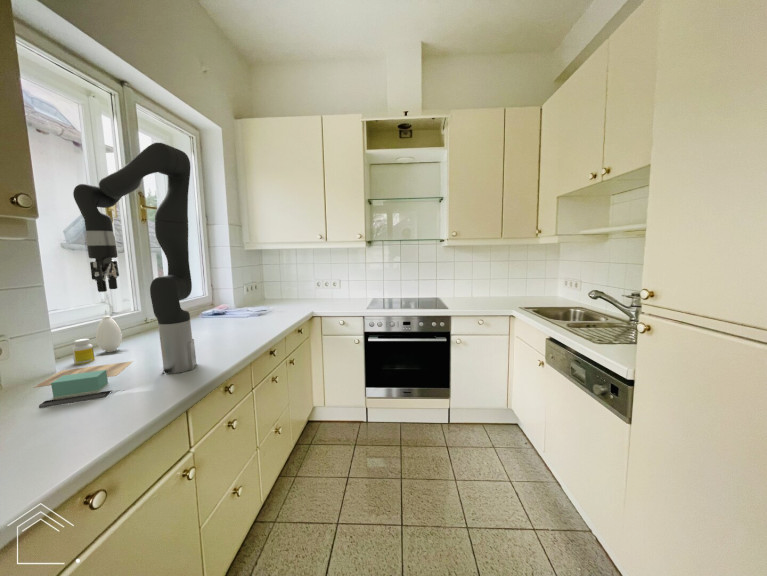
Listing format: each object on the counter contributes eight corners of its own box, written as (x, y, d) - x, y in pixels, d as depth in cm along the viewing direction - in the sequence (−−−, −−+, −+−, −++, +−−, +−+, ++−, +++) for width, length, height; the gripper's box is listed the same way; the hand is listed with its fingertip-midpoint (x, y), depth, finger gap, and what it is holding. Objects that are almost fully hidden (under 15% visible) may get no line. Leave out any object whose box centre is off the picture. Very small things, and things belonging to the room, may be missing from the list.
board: (133, 365, 111) (133, 361, 111) (117, 379, 98) (116, 375, 98) (61, 374, 104) (61, 370, 104) (34, 392, 91) (33, 387, 91)
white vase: (108, 349, 131) (102, 308, 129) (128, 348, 132) (122, 307, 130) (93, 355, 123) (87, 312, 121) (114, 354, 124) (108, 311, 122)
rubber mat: (119, 383, 96) (119, 381, 95) (105, 397, 86) (104, 394, 86) (61, 392, 90) (60, 389, 90) (39, 408, 81) (38, 405, 81)
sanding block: (108, 385, 93) (106, 369, 92) (99, 392, 88) (97, 376, 87) (65, 391, 89) (62, 375, 88) (53, 400, 84) (51, 383, 83)
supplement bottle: (98, 363, 114) (94, 338, 112) (79, 369, 109) (75, 342, 107) (91, 361, 116) (87, 337, 115) (72, 367, 111) (68, 341, 110)
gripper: (106, 243, 101) (112, 292, 103) (123, 244, 114) (129, 287, 116) (76, 244, 98) (84, 293, 100) (98, 245, 111) (104, 288, 113)
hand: (108, 290), depth 108 cm, fingers open, 8 cm apart
